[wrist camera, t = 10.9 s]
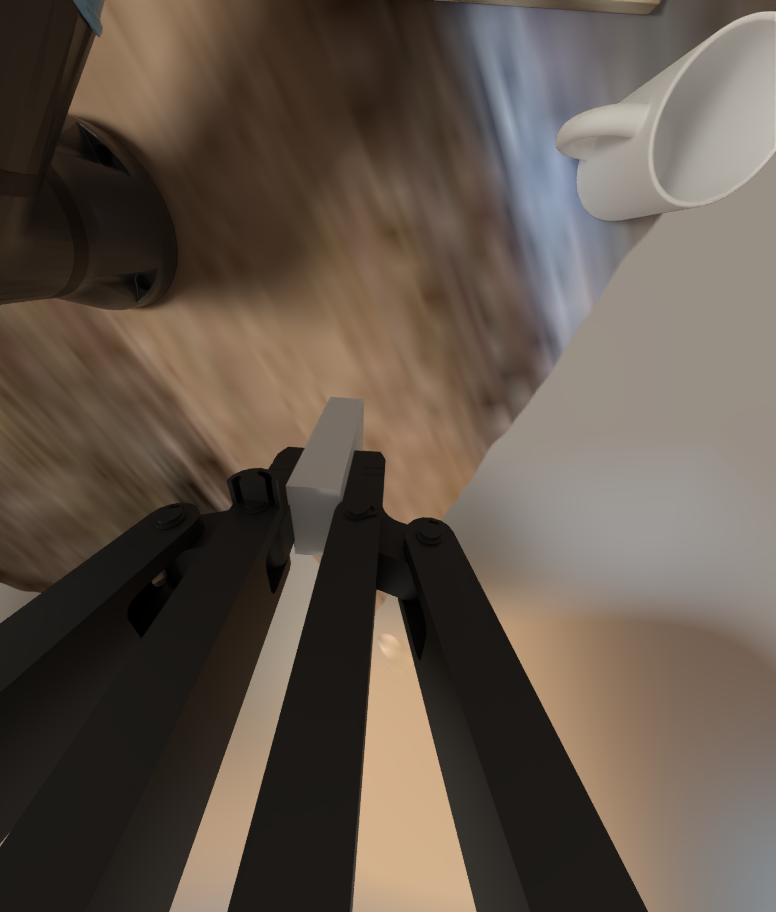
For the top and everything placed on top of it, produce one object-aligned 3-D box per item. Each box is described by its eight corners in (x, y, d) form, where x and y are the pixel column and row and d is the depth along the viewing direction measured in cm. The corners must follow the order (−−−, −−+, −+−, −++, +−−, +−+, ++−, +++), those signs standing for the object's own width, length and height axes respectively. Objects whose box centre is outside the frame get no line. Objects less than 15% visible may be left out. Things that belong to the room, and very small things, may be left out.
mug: (519, 209, 30) (568, 188, 21) (554, 79, 25) (637, -17, 16) (642, 228, 30) (741, 216, 21) (698, 104, 26) (852, 24, 17)
